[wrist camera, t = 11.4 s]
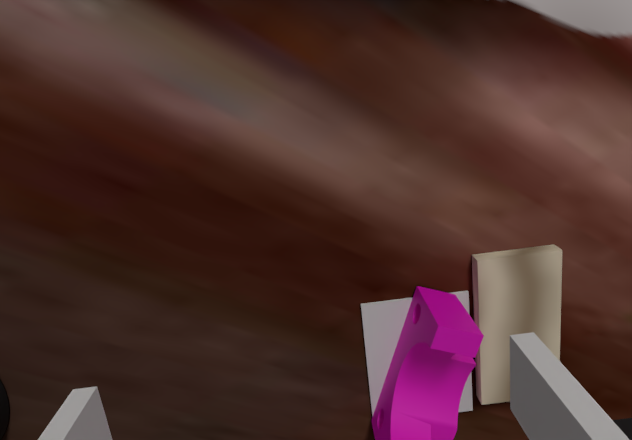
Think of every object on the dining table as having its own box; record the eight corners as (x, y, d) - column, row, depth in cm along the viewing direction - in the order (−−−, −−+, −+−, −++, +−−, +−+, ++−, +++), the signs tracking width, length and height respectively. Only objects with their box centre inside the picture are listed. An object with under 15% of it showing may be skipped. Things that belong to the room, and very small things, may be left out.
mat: (372, 420, 51) (373, 422, 50) (360, 303, 47) (361, 305, 47) (471, 408, 51) (472, 410, 50) (467, 290, 47) (468, 291, 47)
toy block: (430, 432, 51) (452, 492, 44) (371, 420, 50) (383, 479, 43) (480, 300, 47) (513, 342, 40) (416, 285, 46) (438, 325, 39)
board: (476, 395, 50) (481, 404, 49) (471, 254, 46) (477, 260, 44) (551, 385, 50) (558, 395, 49) (554, 244, 46) (562, 250, 44)
